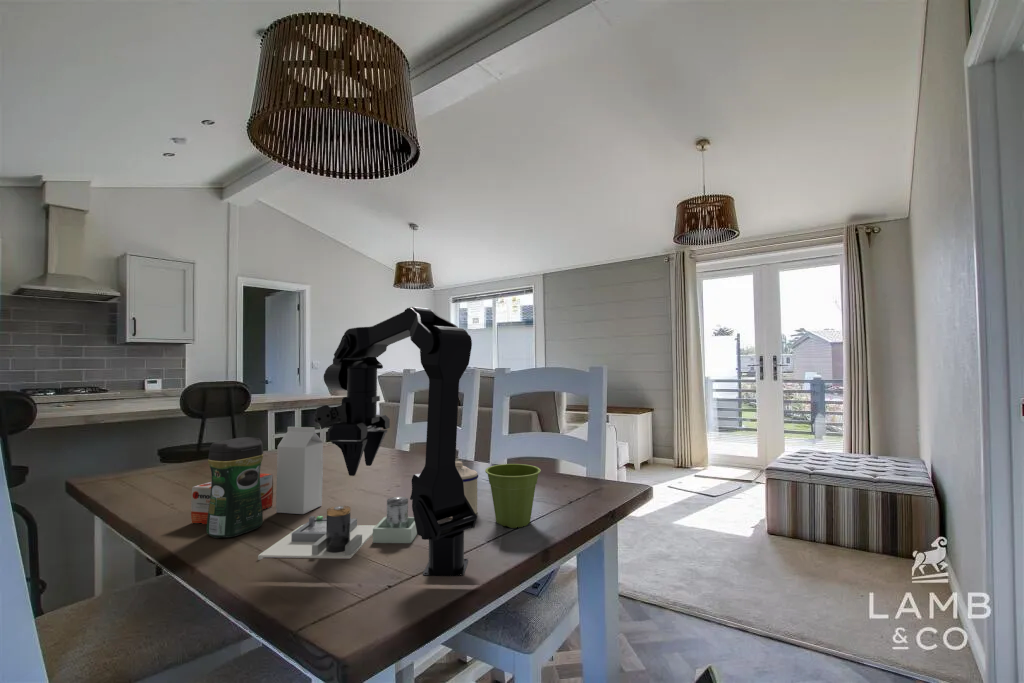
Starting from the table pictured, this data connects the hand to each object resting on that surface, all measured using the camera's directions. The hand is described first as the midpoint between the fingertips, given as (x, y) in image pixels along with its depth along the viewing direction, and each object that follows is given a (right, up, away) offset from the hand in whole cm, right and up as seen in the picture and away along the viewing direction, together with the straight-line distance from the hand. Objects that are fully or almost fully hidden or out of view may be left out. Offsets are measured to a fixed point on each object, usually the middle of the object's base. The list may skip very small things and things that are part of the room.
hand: (360, 470), depth 96 cm
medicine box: (-32, -14, +12) cm, 37 cm away
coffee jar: (-26, -13, +1) cm, 29 cm away
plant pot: (+30, -13, +6) cm, 34 cm away
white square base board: (-5, -12, -5) cm, 14 cm away
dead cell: (+8, -12, -3) cm, 15 cm away
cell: (-1, -11, -10) cm, 15 cm away
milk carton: (-19, -14, +16) cm, 29 cm away
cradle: (-6, -11, -2) cm, 13 cm away
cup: (+8, -12, -3) cm, 15 cm away
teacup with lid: (+17, -13, +13) cm, 25 cm away
